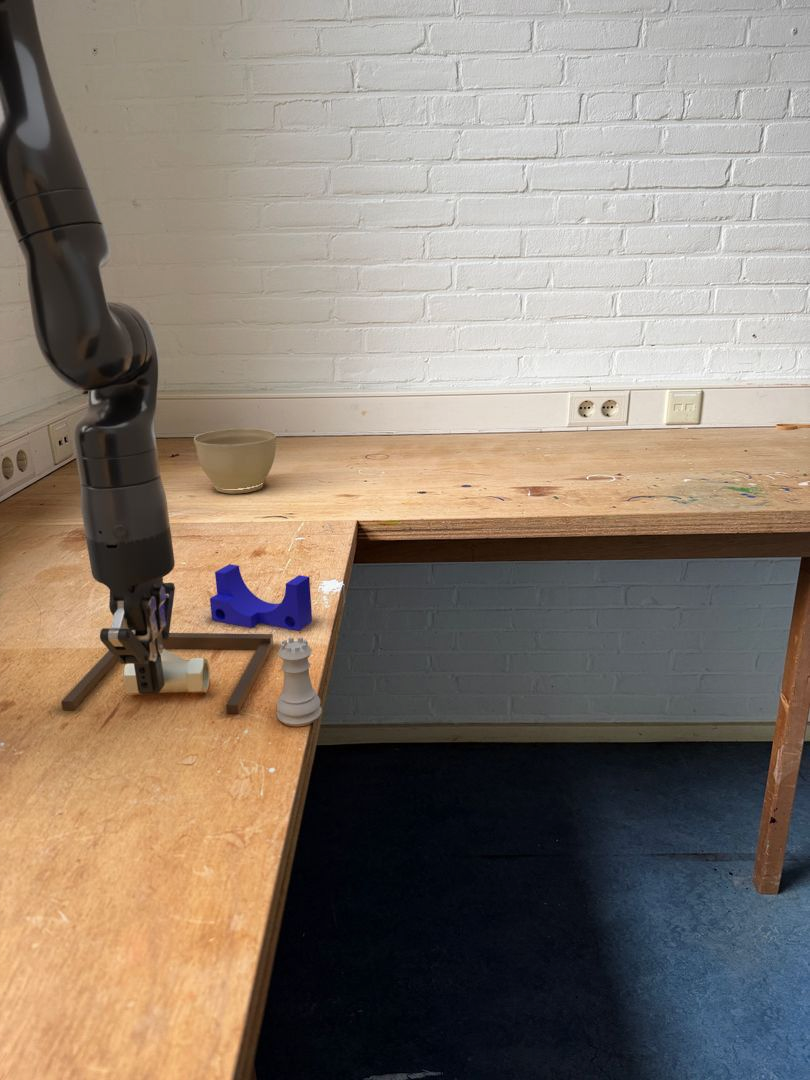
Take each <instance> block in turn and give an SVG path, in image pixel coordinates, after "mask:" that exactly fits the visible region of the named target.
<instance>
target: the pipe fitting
mask: <svg viewBox="0 0 810 1080" xmlns="http://www.w3.org/2000/svg"><path fill="white" fill-rule="evenodd" d="M160 655H161V661H162V668H163V676H164V683H165V685H164V686H163V688H162V689H161V690H160V692H159V693H158V694H166V693H168V694H169V693H170V694H171V693H191V694H207V692H208V690H209V686H210V679H211V672H210V671H211V670H210V663H209V660H208V659H207V658H205V657H194V658H193V657H191V658H189V659H186V658H185V657H181V656H180V655H177V654H175V653H173V652H171V651H169V650H167V649H166V648H163V652H162V653H161V654H160ZM122 677H123V678H122V680H123V689H124V692H125V694H126V695H130V696H141V695H146V694H141V693H139V692H138V687H137V681H136V674H135V668H134V664H125V666H124V670H123V676H122Z"/></svg>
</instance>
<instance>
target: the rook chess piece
mask: <svg viewBox="0 0 810 1080" xmlns="http://www.w3.org/2000/svg"><path fill="white" fill-rule="evenodd" d="M312 652H313V649H312V648H311V646H309V642H308V640H307V639H304V637H301V636H298V637H297V640H295V638H294V637H293V636H291V637H288V641H287V640H286V639H283V640H282V641H281V643H280V648H279V649H278V651H277V655H278V657H279V658H280V659H281V660H282V662H283V663H282V664H281V670H282V671H283V686H282V691H281V692H280V695H279V697H278V699H277V703H276V705H275V706H276V708H277V709H276V714H275V715H276V717H277V719H278V720H279V721H280V722H281V723H283V724H284V725H286V726H289V727H304V726H308V725H310V724H312V723H315V722H316V721H317V719H318V718H319V717H320V716H321V715H322V711H323V708H322V707H321V703H322V701H321V699H320V697H319V695H318V693H316V690H315V689H314V688H313V685H312V681H311V676H310V668H311V663H310V661H309V657H310V656H311V654H312Z"/></svg>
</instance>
